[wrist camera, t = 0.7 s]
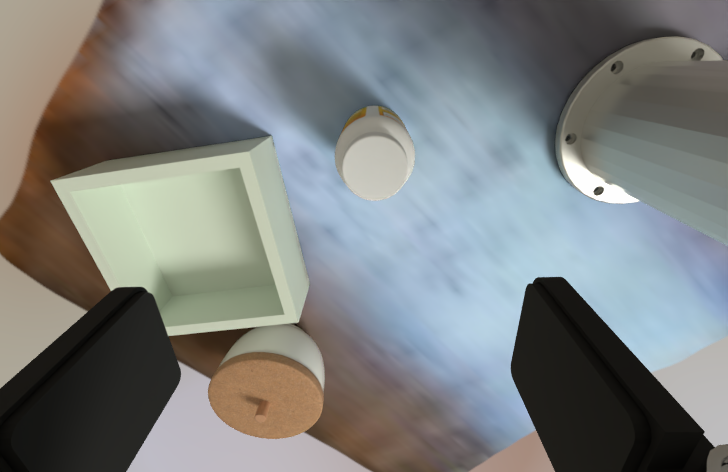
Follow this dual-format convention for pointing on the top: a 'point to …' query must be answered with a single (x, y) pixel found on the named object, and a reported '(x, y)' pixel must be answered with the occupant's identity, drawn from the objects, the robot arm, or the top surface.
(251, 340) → the lidded jar
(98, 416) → the robot arm
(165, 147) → the top surface
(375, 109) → the supplement bottle
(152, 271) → the bin
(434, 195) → the top surface
